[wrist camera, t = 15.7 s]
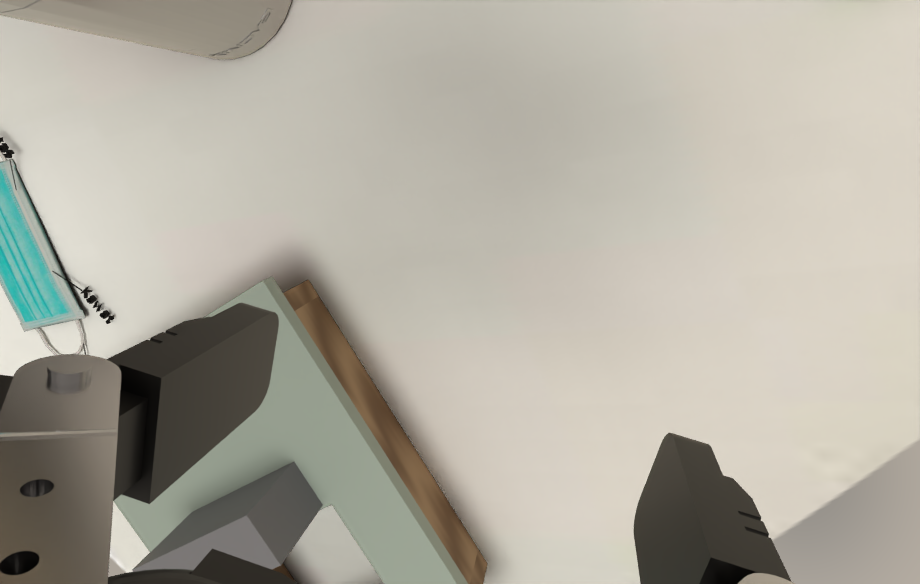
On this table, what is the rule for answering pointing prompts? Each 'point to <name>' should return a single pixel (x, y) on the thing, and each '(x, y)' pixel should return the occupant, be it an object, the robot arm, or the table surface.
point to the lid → (292, 477)
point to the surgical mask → (32, 261)
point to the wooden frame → (385, 432)
